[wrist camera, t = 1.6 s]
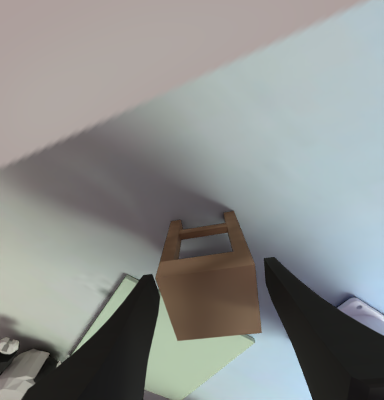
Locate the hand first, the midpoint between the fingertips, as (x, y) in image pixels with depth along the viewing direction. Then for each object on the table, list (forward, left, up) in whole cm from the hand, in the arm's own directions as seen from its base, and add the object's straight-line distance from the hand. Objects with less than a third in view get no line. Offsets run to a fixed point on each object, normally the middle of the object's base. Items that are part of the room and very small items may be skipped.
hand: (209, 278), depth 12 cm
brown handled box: (0, 0, -4) cm, 4 cm away
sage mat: (-4, +15, -4) cm, 15 cm away
